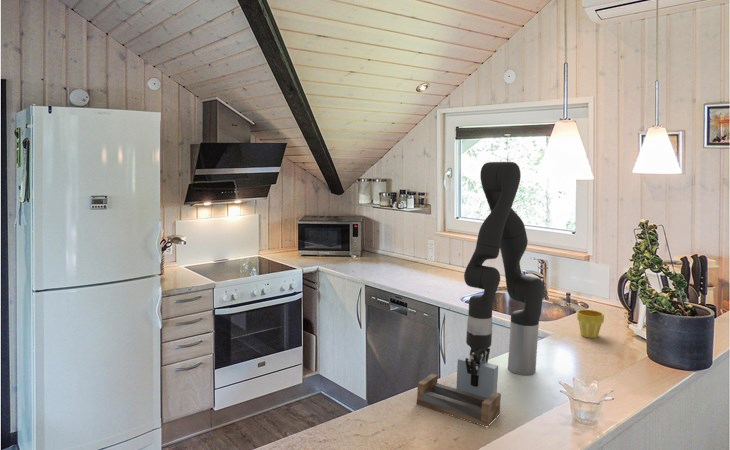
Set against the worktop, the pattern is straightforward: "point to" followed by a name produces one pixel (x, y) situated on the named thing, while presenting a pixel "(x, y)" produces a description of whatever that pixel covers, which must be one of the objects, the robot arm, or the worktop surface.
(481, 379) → the light blue flat block
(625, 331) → the worktop surface
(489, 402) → the door track
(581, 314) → the plant pot
